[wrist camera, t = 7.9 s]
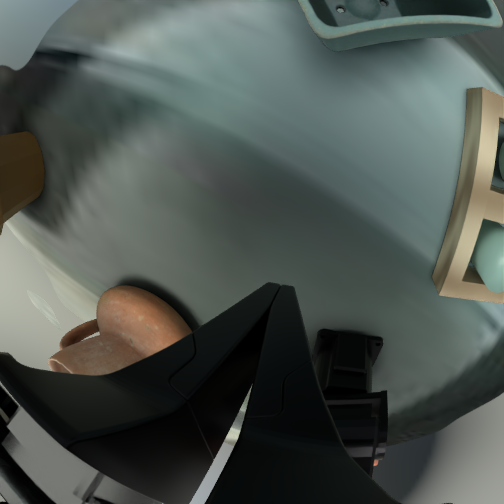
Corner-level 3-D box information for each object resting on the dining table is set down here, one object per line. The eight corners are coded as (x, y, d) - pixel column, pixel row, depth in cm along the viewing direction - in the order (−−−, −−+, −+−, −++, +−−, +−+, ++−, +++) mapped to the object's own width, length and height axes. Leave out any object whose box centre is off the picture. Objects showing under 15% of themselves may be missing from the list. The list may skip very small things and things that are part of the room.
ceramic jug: (220, 301, 27) (139, 418, 15) (218, 379, 34) (170, 464, 22) (94, 254, 31) (12, 318, 19) (115, 332, 38) (60, 393, 26)
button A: (493, 267, 16) (512, 295, 12) (459, 260, 17) (476, 290, 14) (508, 223, 14) (532, 247, 11) (474, 214, 15) (496, 237, 12)
